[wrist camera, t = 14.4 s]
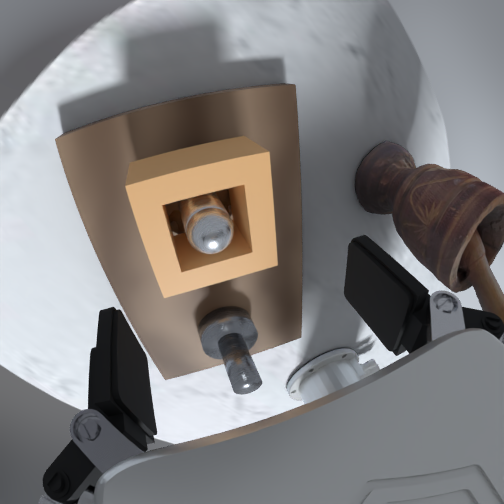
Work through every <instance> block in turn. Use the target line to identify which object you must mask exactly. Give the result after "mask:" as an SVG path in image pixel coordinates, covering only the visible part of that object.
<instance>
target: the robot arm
mask: <svg viewBox="0 0 504 504" xmlns="http://www.w3.org/2000/svg"><path fill="white" fill-rule="evenodd" d="M428 292H429V290H428V289H427V288H425V287H424V286H423V285H422V284H421V283H420V282H419V281H418V280H417V279H416V278H415V277H414V276H412V275H411V274H410V273H409V272H408V271H407V270H406V269H405V268H404V267H402V266H401V265H400V264H399V263H398V262H397V261H396V260H394V259H393V258H392V257H391V256H390V255H389V254H388V253H386V252H385V251H384V250H383V249H382V248H381V247H379V246H378V245H377V244H376V243H375V242H373V241H372V240H371V239H370V238H369V237H367V236H366V235H363V236H359V237H356V238H353V239H352V240H351V243H349V246H348V257H347V268H346V278H345V287H344V295H345V297H346V299H347V300H348V301H349V303H350V304H351V305H352V306H353V308H354V309H355V310H356V311H357V312H358V314H359V315H360V316H361V317H362V318H363V320H364V321H365V322H366V323H367V325H368V326H369V327H370V328H371V330H372V331H373V332H374V333H375V335H376V336H377V337H378V338H379V340H380V341H381V342H382V343H383V345H384V346H385V347H386V348H387V349H388V350H389V351H392V352H393V353H394V354H395V355H396V356H398V355H399V354H401V353H403V352H405V351H406V350H407V351H408V352H409V354H408V355H407V356H405V357H403V358H401V359H399V360H397V361H396V362H394V363H392V364H390V365H388V366H386V367H385V368H383V369H381V370H380V369H379V366H378V364H377V363H376V362H375V360H374V359H371V360H369V361H367V362H366V363H364V364H359V363H358V362H359V357H358V355H357V354H356V352H355V351H354V350H352V349H349V348H342V349H336V350H333V351H330V352H327V353H325V354H323V355H321V356H319V357H317V358H315V359H313V360H312V361H310V362H309V363H307V364H306V365H305V366H303V367H302V368H301V369H300V370H299V371H297V372H296V373H295V374H294V376H293V377H292V378H291V380H290V381H289V383H288V385H287V392H288V394H289V396H290V398H292V399H294V400H298V401H303V402H304V404H305V405H302V406H300V407H297V408H294V409H292V410H289V411H286V412H284V413H281V414H278V415H275V416H273V417H270V418H267V419H264V420H261V421H258V422H255V423H252V424H249V425H246V426H242V427H239V428H236V429H232V430H229V431H225V432H222V433H218V434H215V435H211V436H207V437H203V438H200V439H196V440H192V441H188V442H183V443H179V444H175V445H171V446H167V447H163V448H159V449H155V450H150V451H148V452H146V451H147V444H149V443H154V436H153V435H157V428H156V422H155V416H154V409H153V402H152V395H151V387H150V379H149V370H148V361H147V357H146V354H145V352H144V351H143V349H142V347H141V346H140V344H139V342H138V340H137V339H136V337H135V335H134V333H133V332H132V330H131V328H130V326H129V324H128V323H127V321H126V319H125V317H124V315H123V313H122V312H121V310H116V309H115V308H114V307H111V308H108V309H104V310H101V311H100V312H99V321H98V331H97V343H96V347H95V348H92V349H91V353H90V367H89V390H88V409H85V410H82V411H80V412H79V413H77V414H76V415H75V416H74V418H73V419H72V422H71V424H70V435H71V437H72V440H71V441H70V443H69V444H68V445H67V446H66V447H65V449H64V450H63V451H62V452H61V454H60V455H59V456H58V457H57V458H56V459H55V461H54V462H53V463H52V464H51V466H50V467H49V468H48V469H47V470H46V472H45V474H44V477H43V487H44V490H45V492H46V493H45V496H44V497H43V496H41V497H40V500H39V503H38V504H504V323H503V321H502V320H501V318H500V317H499V316H497V315H496V314H494V313H491V312H486V311H481V310H475V309H471V308H465V307H462V306H461V303H460V300H459V299H458V298H457V297H456V296H455V295H454V294H452V293H450V292H447V291H437V292H434V293H433V294H432V295H431V296H430V295H429V294H428Z"/></svg>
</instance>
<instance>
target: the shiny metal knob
mask: <svg viewBox="0 0 504 504" xmlns="http://www.w3.org/2000/svg"><path fill="white" fill-rule="evenodd" d="M198 333H199V337H200V341H201V344H202V348H203V351H204V352H205V354H206V355H208V356H209V357H211V358H214V359H221V360H223V362H224V365H225V368H226V371H227V374H228V376H229V379H230V382H231V385H232V388H233V390H234V392H235V393H236V394H248V393H251V392H253V391H255V390H257V389H258V388H259V387H260V386H261V385H262V380H261V378H260V376H259V373H258V371H257V369H256V366H255V364H254V362H253V359H252V357H251V355H250V352H249V350H250V349H251V348H252V347H253V346H254V344H255V343H256V341H257V338H258V332H257V329H256V327H255V325H254V323H253V321H252V319H251V317H250V314H249V313H248V312H247V311H246V310H245V309H243V308H241V307H237V306H225V307H221V308H218V309H215V310H213V311H211V312H210V313H208V314H207V315H206V316H204V318H203V319H202V320H201V321H200V323H199V326H198Z"/></svg>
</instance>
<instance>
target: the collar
mask: <svg viewBox="0 0 504 504" xmlns="http://www.w3.org/2000/svg"><path fill="white" fill-rule="evenodd" d="M125 187H126V191H127V194H128V197H129V201H130V204H131V207H132V210H133V214H134V217H135V220H136V223H137V226H138V229H139V232H140V235H141V238H142V241H143V244H144V246H145V249H146V252H147V255H148V258H149V260H150V263H151V266H152V269H153V271H154V274H155V277H156V279H157V282H158V284H159V287H160V289H161V292H162V295H163V297H164V298H167V297H171V296H174V295H178V294H181V293H185V292H188V291H192V290H195V289H199V288H202V287H206V286H209V285H213V284H216V283H220V282H223V281H227V280H230V279H233V278H237V277H240V276H244V275H247V274H250V273H254V272H257V271H261V270H264V269H267V268H271V267H274V266H277V265H278V261H277V245H276V230H275V216H274V202H273V189H272V176H271V164H270V152H269V151H268V150H266V149H264V148H263V147H261V146H260V145H258V144H257V143H255V142H253V141H252V140H250V139H249V138H247V137H245V136H240V137H235V138H229V139H224V140H219V141H214V142H210V143H205V144H200V145H196V146H192V147H187V148H183V149H179V150H175V151H171V152H167V153H163V154H159V155H155V156H152V157H148V158H145V159H141V160H137V161H134V162H131V163H130V164H129V169H128V174H127V179H126V184H125ZM223 189H228V190H229V197H230V203H231V210H232V216H233V220H232V222H233V225H234V234H233V238H232V240H231V242H230V244H229V245H228V246H227V247H226V248H225V249H224V250H222V251H221V252H219V253H215V254H204V253H201V252H199V251H197V250H196V249H194V248H193V247H192V246H191V244H190V243H189V241H188V239H187V236H186V233H182V234H178V235H175V236H174V235H173V232H172V228H171V225H170V221H169V217H168V214H167V210H166V206H165V204H169V203H172V202H176V201H180V200H183V199H187V198H191V197H195V196H199V195H203V194H207V193H211V192H215V191H219V190H223Z"/></svg>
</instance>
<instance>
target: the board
mask: <svg viewBox="0 0 504 504" xmlns="http://www.w3.org/2000/svg"><path fill="white" fill-rule="evenodd" d="M240 136H245V137H247V138H249V139H250V140H252V141H253V142H255V143H257V144H258V145H260V146H261V147H263V148H264V149H266V150H268V151H269V152H270V164H271V176H272V189H273V202H274V216H275V230H276V245H277V261H278V265H277V266H274V267H271V268H267V269H264V270H261V271H257V272H254V273H250V274H247V275H244V276H240V277H237V278H233V279H230V280H227V281H223V282H220V283H216V284H213V285H209V286H206V287H202V288H199V289H195V290H192V291H188V292H185V293H181V294H178V295H174V296H171V297H167V298H164V297H163V295H162V292H161V289H160V287H159V284H158V282H157V279H156V277H155V274H154V271H153V269H152V266H151V263H150V260H149V258H148V255H147V252H146V249H145V246H144V244H143V241H142V238H141V235H140V232H139V229H138V226H137V223H136V220H135V217H134V214H133V210H132V207H131V204H130V201H129V197H128V194H127V191H126V187H125V184H126V179H127V174H128V169H129V164H130V163H131V162H134V161H137V160H141V159H145V158H148V157H152V156H155V155H159V154H163V153H167V152H171V151H175V150H179V149H183V148H187V147H192V146H196V145H200V144H205V143H210V142H214V141H219V140H224V139H229V138H235V137H240ZM55 141H56V145H57V148H58V152H59V155H60V158H61V162H62V165H63V168H64V171H65V174H66V177H67V180H68V183H69V186H70V189H71V192H72V195H73V197H74V200H75V203H76V206H77V208H78V211H79V214H80V216H81V219H82V221H83V224H84V226H85V229H86V231H87V234H88V236H89V238H90V241H91V243H92V245H93V248H94V250H95V252H96V254H97V257H98V259H99V261H100V263H101V265H102V268H103V270H104V272H105V274H106V276H107V278H108V280H109V282H110V284H111V286H112V288H113V290H114V292H115V294H116V296H117V298H118V300H119V302H120V304H121V306H122V308H123V310H124V311H125V313H126V315H127V317H128V319H129V321H130V322H131V324H132V326H133V328H134V330H135V331H136V333H137V335H138V337H139V338H140V340H141V342H142V343H143V345H144V347H145V348H146V350H147V352H148V353H149V355H150V357H151V358H152V360H153V362H154V363H155V365H156V366H157V368H158V369H159V371H160V373H161V374H162V376H163V377H164V379H165V380H167V379H171V378H175V377H179V376H183V375H186V374H190V373H194V372H197V371H201V370H204V369H208V368H211V367H215V366H218V365H221V364H224V362H223V360H221V359H214V358H211V357H209V356H208V355H206V354H205V352H204V351H203V348H202V344H201V341H200V337H199V333H198V326H199V323H200V321H201V320H202V319H203V318H204V316H206V315H207V314H208V313H210V312H211V311H213V310H215V309H218V308H221V307H225V306H237V307H241V308H243V309H245V310H246V311H247V312H248V313H249V314H250V317H251V319H252V321H253V323H254V325H255V327H256V329H257V332H258V338H257V341H256V343H255V344H254V346H253V347H252V348H251V349H250V350H249V352H250V355H253V354H256V353H259V352H262V351H265V350H268V349H271V348H274V347H276V346H279V345H282V344H285V343H288V342H290V341H293V340H296V339H298V338H301V329H302V200H301V170H300V148H299V129H298V113H297V99H296V86H295V84H285V83H281V84H270V85H260V86H251V87H243V88H235V89H229V90H222V91H216V92H210V93H204V94H199V95H194V96H189V97H184V98H179V99H175V100H170V101H166V102H162V103H157V104H153V105H150V106H146V107H142V108H138V109H135V110H131V111H128V112H124V113H121V114H118V115H114V116H111V117H108V118H105V119H102V120H99V121H96V122H93V123H90V124H88V125H85V126H82V127H79V128H77V129H74V130H71V131H69V132H66V133H64V134H62V135H61V136H59V137H58V138H56V139H55ZM231 219H232V220H233V216H232V215H231ZM172 232H173V231H172ZM173 235H174V236H175V235H178V234H177V233H175V232H173Z"/></svg>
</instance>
